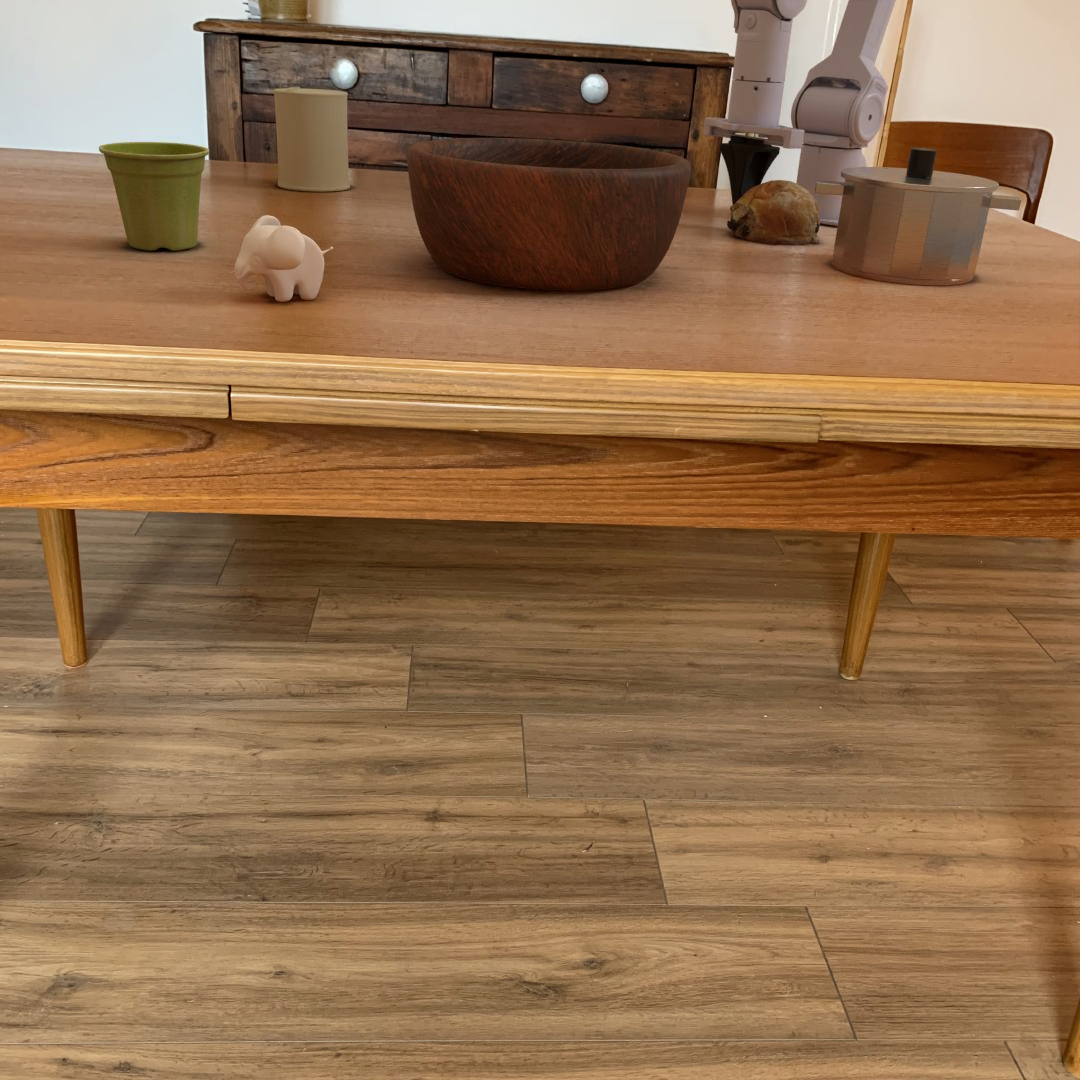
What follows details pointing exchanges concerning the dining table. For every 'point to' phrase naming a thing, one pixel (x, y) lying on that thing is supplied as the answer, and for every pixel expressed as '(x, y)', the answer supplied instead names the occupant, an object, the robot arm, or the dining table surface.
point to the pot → (910, 232)
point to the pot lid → (920, 176)
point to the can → (312, 139)
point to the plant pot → (157, 191)
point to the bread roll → (776, 214)
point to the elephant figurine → (280, 260)
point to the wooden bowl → (546, 210)
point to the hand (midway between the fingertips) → (742, 208)
